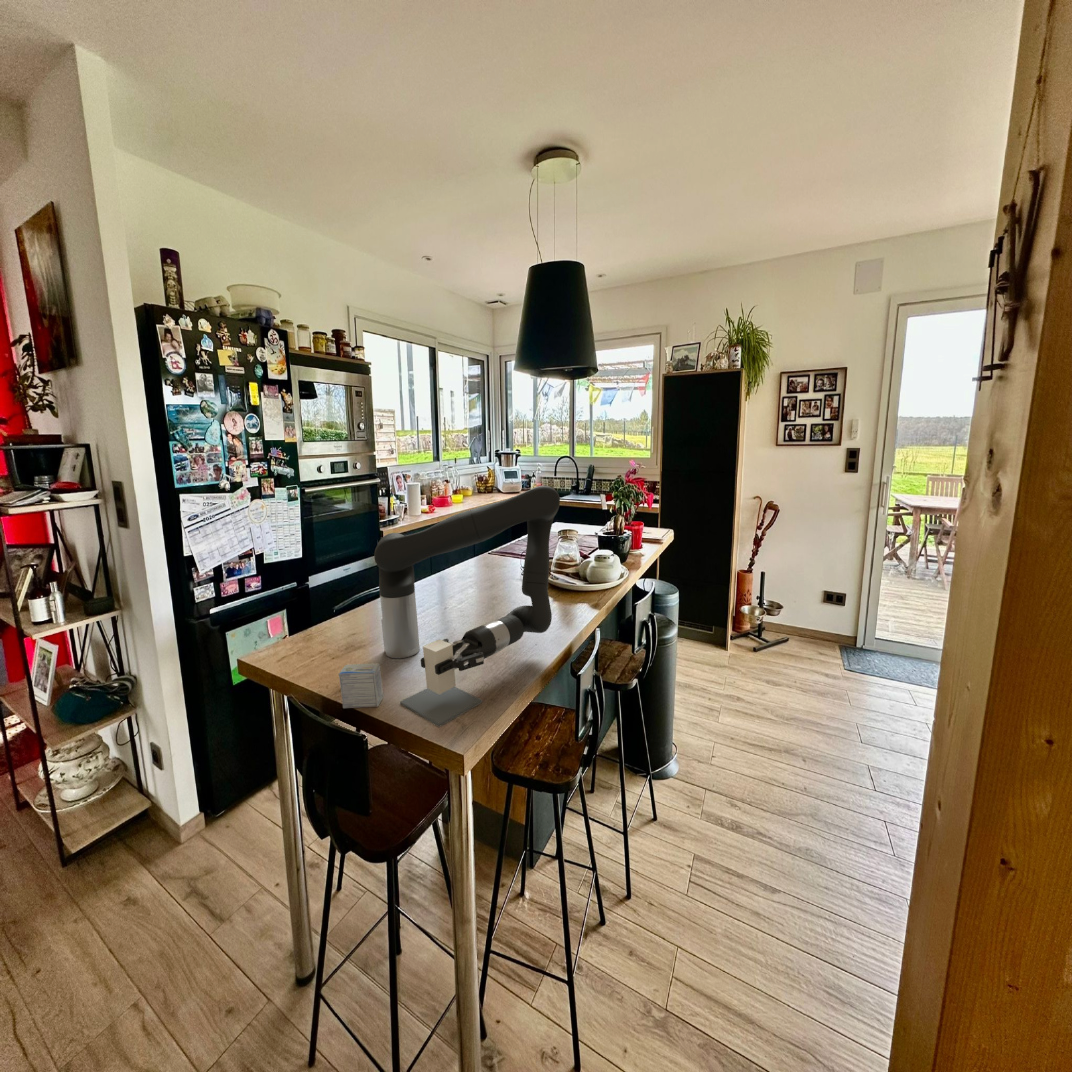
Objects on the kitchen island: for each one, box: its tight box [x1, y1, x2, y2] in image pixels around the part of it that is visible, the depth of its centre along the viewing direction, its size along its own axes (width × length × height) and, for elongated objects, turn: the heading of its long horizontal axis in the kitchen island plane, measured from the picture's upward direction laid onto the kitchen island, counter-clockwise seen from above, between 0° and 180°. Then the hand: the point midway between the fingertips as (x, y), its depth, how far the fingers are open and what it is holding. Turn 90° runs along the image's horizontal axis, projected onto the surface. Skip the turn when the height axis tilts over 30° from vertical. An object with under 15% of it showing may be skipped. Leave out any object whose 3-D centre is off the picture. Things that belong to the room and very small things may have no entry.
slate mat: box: [399, 686, 483, 728], centre depth 109 cm, size 14×12×1 cm
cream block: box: [422, 639, 457, 695], centre depth 108 cm, size 4×4×10 cm
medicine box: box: [338, 662, 384, 709], centre depth 110 cm, size 8×4×9 cm, turn 92°
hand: (429, 666), depth 106 cm, fingers closed on cream block, 4 cm apart
